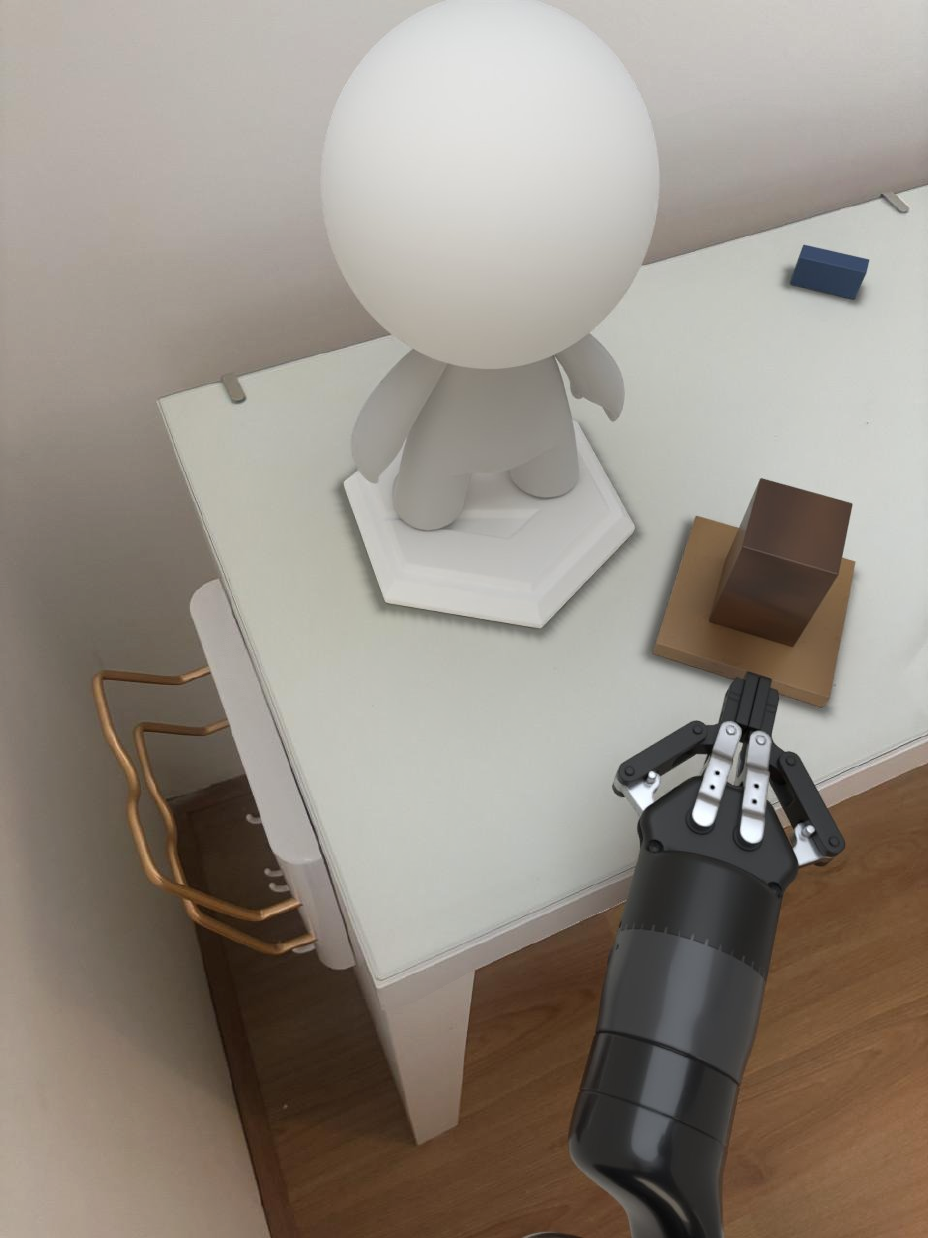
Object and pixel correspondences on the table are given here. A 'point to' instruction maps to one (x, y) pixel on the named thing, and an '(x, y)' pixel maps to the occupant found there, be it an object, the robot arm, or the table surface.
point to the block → (765, 593)
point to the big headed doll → (488, 297)
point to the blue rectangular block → (829, 271)
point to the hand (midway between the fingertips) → (755, 680)
